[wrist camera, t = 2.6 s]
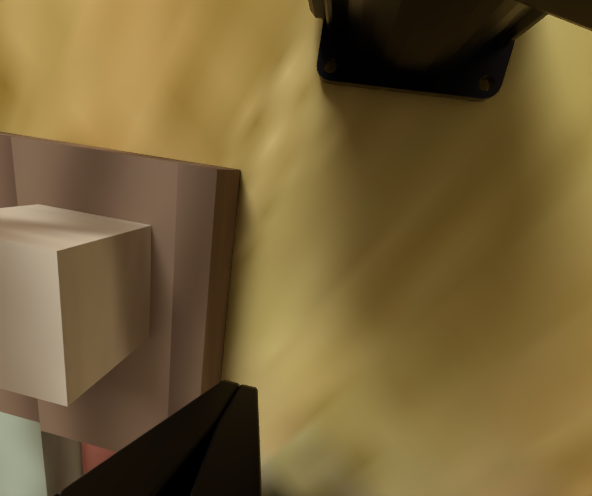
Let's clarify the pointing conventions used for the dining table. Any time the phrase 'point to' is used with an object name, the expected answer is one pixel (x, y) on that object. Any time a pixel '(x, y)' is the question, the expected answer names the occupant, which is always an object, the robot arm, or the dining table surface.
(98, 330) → the block
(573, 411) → the dining table surface
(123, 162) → the board
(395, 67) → the robot arm
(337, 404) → the dining table surface
